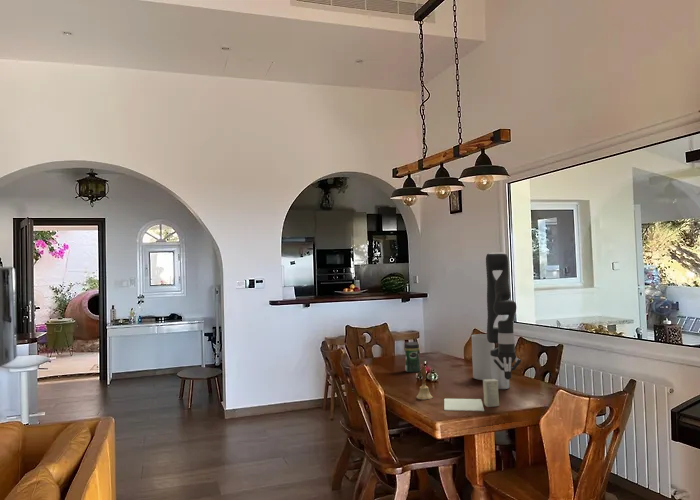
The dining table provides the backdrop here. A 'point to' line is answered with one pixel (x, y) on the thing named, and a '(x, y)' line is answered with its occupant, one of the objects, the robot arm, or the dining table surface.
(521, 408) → the dining table surface
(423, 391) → the hand bell
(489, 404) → the skincare box
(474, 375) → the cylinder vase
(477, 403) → the mat
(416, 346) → the coffee jar
